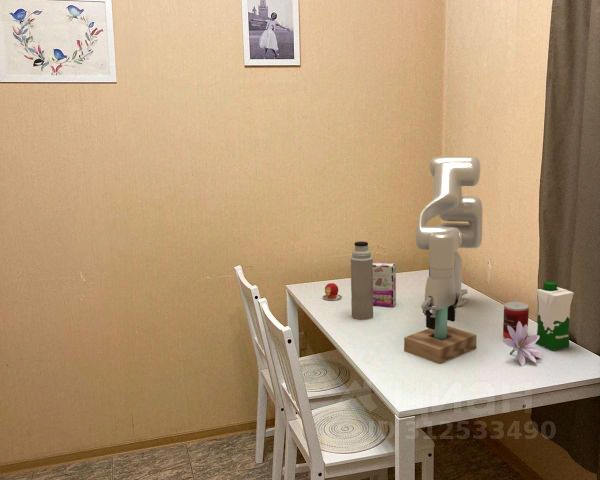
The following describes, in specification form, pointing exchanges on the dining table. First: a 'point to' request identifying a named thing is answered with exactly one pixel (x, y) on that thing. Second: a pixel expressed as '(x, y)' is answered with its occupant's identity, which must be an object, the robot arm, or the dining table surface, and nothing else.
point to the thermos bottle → (362, 282)
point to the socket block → (440, 344)
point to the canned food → (514, 316)
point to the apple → (331, 292)
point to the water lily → (522, 343)
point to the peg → (441, 323)
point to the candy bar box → (384, 284)
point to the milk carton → (553, 316)
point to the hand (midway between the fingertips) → (440, 324)
